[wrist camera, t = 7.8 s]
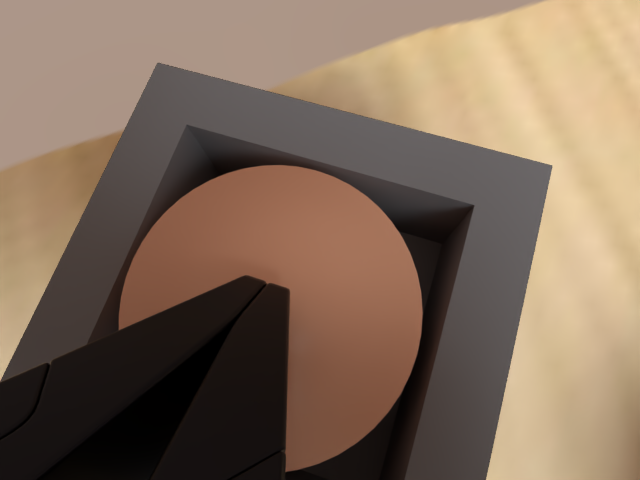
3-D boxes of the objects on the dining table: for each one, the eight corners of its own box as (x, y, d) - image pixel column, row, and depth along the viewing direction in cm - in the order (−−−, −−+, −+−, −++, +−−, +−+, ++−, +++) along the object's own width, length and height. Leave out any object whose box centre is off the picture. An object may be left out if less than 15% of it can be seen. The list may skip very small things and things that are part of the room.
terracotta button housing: (390, 508, 14) (444, 675, 7) (148, 415, 16) (-42, 466, 8) (456, 256, 17) (552, 165, 9) (238, 192, 18) (157, 62, 10)
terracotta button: (363, 478, 10) (371, 526, 7) (141, 394, 11) (66, 406, 8) (427, 248, 11) (455, 210, 8) (227, 189, 12) (189, 134, 9)
